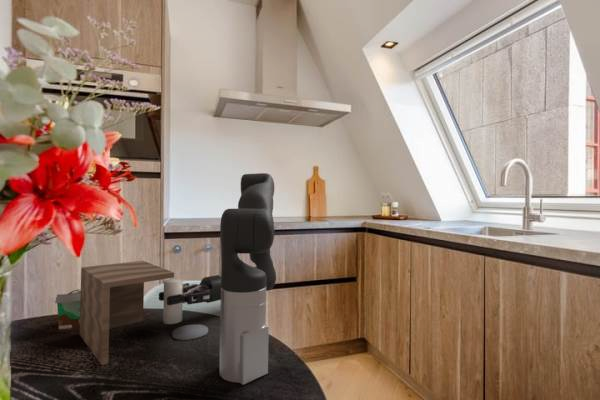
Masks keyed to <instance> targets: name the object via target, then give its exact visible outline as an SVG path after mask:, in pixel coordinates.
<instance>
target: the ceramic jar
mask: <svg viewBox="0 0 600 400" xmlns="http://www.w3.org/2000/svg"><path fill="white" fill-rule="evenodd" d="M183 284H184V281H183V279H182V278H168V279H164V281H163V292H164V300H163V318H162V319H163V324H165V325H174V324H178V323H180V322H182V321H183V303H178V304H174V305H167V297H169V296H174V295H178V294H182V288H183Z"/></svg>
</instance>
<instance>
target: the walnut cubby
mask: <svg viewBox="0 0 600 400" xmlns="http://www.w3.org/2000/svg"><path fill="white" fill-rule="evenodd" d="M80 269H81V270H80V289H81V302H80V329H79V336H80V337H81V338H82V340H83V341H84V343H85V344H86V345H87V347H88V348H89V350H90V351H91V352H92V353H93V355H94V357H95V358H96V359H97V361H98V362H99V363H100V365H101V366H105V365H108V364H109V353H110V352H109V349H110V348H109V347H110V345H109V344H110V330H111V329H112V330H113V329H116V328H120V327H124V326H128V325H133V324H137V323H140V321H141V322H144V303H145V302H144V301H145V300H144V297H145V283H147V282H148V283H149V282H154V281H161V280H168V279H175V272H174V271H171V270H169V269H167V268H166V269H165V268H163V267H160V266H158V265H155V264H152V263H151V262H148V261H145V260H136V261H128V262H120V263H119V262H117V263H111V264H110V263H109V264H101V265H92V266H84V267H83V266H81V268H80ZM136 322H137V323H136Z"/></svg>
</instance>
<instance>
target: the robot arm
mask: <svg viewBox="0 0 600 400" xmlns="http://www.w3.org/2000/svg"><path fill="white" fill-rule="evenodd" d="M274 194H275V182H274V178H273V177H272V175H271V174H269V173H266V172H265V173H264V172H263V173H260V172H259V173H245V174H243V175H241V178H240V198H239V200H238V204H237V208H227V209H224V211H223V213H222V214H221V219H220V225H219V226H220V227H219V228H220V229H219V231H220V232H219V233H220V234H219V235H220V238H219V239H220V263H221V264H220V265H221V267H220V274H215V275H211V276H204V277H202V279H201V281H200V282H199V284H198V283H192V284H190V283H188V282H187V283H183V288H182V294H178V295H174V296H169V297H167V305H174V304H178V303H182V304H186V305H194V304H202V303H213V302H217V301H220V310H219V311H220V319H219V321H220V322H219V368H218V369H219V370H218V371H219V373H218V374H219V376H220V377H221V378H222V379H223V380H224V381H227V382H231V383H237V384H238V383H239V384H240V385H246V384H248V383H251V382H252V381H255V380H257V379H258V378H261V377H263V376H266V375H267V374H268V373H269V335H270V334H269V330H270V328H269V326H268V325H267V324H266V322H267V319H266V318H267V291H268V292H269V291H271V290H272V289H273V288H274V287H275V284H276V281H277V273H276V269H275V267H274V263H273V260H272V257H271V248H272V246H273V243H274V239H275V221H274V217H273V216H274V215H273V210H274ZM239 254H240V255H241V254H243V255H244V254H249V259H250V261H251V262H252V263H253V264H255V266H252V265H249V264H247V263H245V262H244V261H243V260H242V259H240V257H239ZM158 300H159V301H160V302H161V301H162V302H164V291H162V292H159V293H158Z"/></svg>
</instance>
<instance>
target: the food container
mask: <svg viewBox="0 0 600 400" xmlns="http://www.w3.org/2000/svg"><path fill="white" fill-rule="evenodd" d="M80 302H81V288H80V289H74V290H72V291H70V292H68V293H65V294H62V293H61V294H59V293H57V294H56V297H55V302H54V303H55V304H56V305H57V308H56V309H57V322H58V332H59V333H60V332H62V333H64V332H65V333H66V332H72V331H77V330H80Z"/></svg>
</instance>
